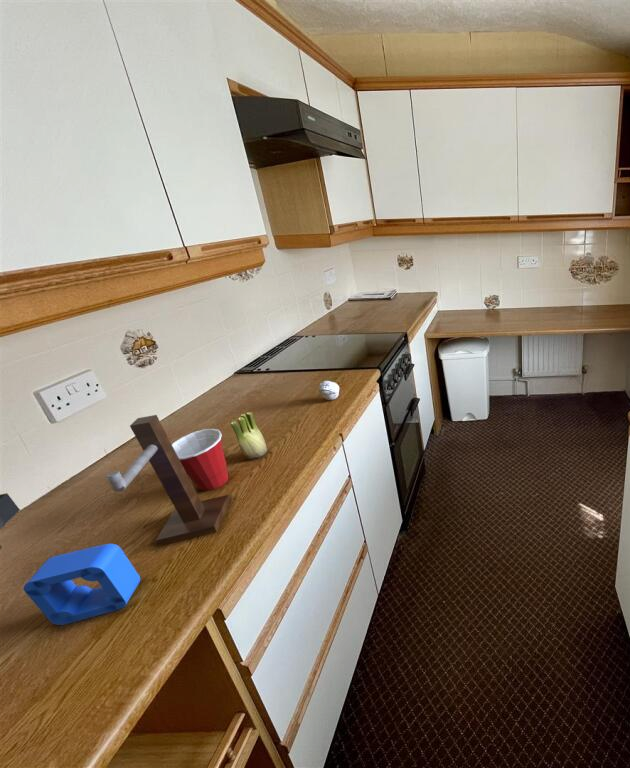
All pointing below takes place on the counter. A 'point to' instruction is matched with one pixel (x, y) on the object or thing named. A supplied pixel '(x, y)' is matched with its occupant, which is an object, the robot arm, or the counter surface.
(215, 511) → the hook stand
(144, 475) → the counter surface
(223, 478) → the plastic cup
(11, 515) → the robot arm
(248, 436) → the fennel bulb
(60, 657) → the counter surface
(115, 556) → the blue rounded square frame
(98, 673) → the counter surface
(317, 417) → the counter surface
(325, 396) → the white lumpy ball
